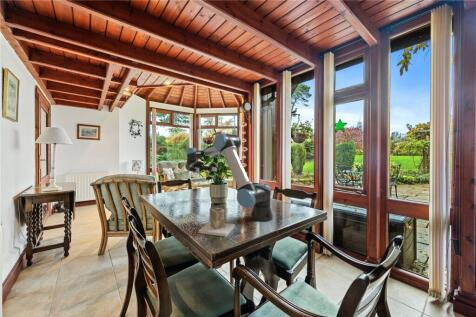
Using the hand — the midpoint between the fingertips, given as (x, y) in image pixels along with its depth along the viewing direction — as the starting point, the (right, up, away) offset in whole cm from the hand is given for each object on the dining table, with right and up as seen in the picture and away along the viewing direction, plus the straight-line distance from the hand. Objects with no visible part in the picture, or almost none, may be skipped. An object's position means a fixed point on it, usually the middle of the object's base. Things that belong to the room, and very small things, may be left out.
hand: (207, 169), depth 150 cm
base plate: (+9, -33, -27) cm, 44 cm away
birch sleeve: (+9, -31, -27) cm, 42 cm away
